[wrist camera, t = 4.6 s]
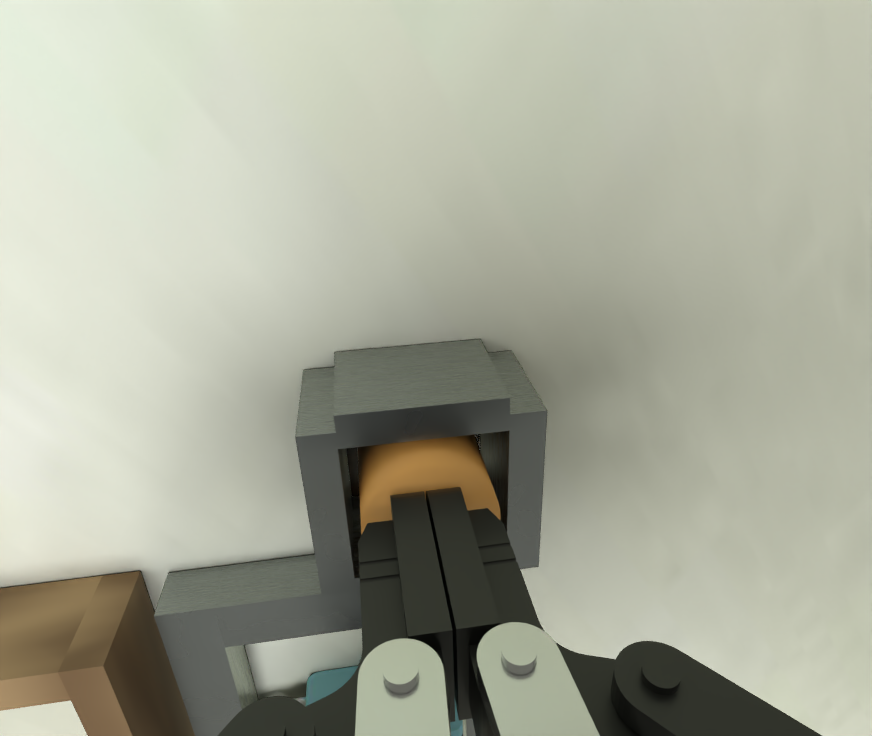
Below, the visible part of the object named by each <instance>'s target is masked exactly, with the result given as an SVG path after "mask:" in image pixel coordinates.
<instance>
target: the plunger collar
mask: <svg viewBox="0 0 872 736" xmlns="http://www.w3.org/2000/svg"><path fill="white" fill-rule="evenodd" d="M546 423H547V409H546V408H545V406H544V404H543V403H542V401H541V399H540V398H539V396H538V394H537V393H536V391H535V389H534V388H533V386H532V384H531V383H530V381H529V379H528V378H527V376H526V374H525V372H524V371H523V369H522V367H521V366H520V364H519V362H518V361H517V359H516V357H515V356H514V354H513V352H512V351H502V352H491V353H487V351H486V349H485V347H484V345H483V343H482V341H481V339H475V340H464V341H452V342H441V343H430V344H419V345H408V346H397V347H386V348H375V349H364V350H353V351H342V352H335V353H334V367H330V368H319V369H309V370H303V376H302V385H301V393H300V402H299V410H298V419H297V427H296V436H295V438H296V444H297V450H298V456H299V462H300V468H301V474H302V480H303V486H304V492H305V498H306V504H307V510H308V516H309V522H310V528H311V534H312V540H313V546H314V552H315V558H316V564H317V570H318V577H319V583H320V589H321V595H322V596H323V595H330V594H338V593H345V592H353V591H356V594H357V601H358V603H361V597H360V574H359V552H358V541H359V539H360V537H361V535H362V534H361V517H360V496H354V497H352V491H351V483H350V475H349V467H348V459H347V450H346V448H354V447H363V446H372V445H382V444H391V443H400V442H409V441H419V440H428V439H437V438H446V437H456V436H465V435H474V434H481V455H482V458H483V461H484V463H485V466H486V469H487V472H488V475H489V477H490V480H491V483H492V486H493V488H494V491H495V494H496V497H497V499H498V502H499V506H500V515H501V517H500V521H501V522H502V523H503V524H504V526H505V529H506V532H507V535H508V538H509V540H510V545H511V546H512V549H513V551H514V554H515V557H516V562H518V565H519V568H520V569H525V568H532V567H539V549H540V531H541V513H542V495H543V477H544V459H545V441H546Z"/></svg>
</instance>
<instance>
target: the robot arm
mask: <svg viewBox="0 0 872 736" xmlns="http://www.w3.org/2000/svg"><path fill="white" fill-rule="evenodd" d="M390 501H391V513H392V520H389V521H381V522H373V523H367V525H366V527H365V529H364V531H363V533H362V535H361V537H360V539H359V541H358V552H359V574H360V597H361V620H362V642H363V650H362V657H361V660H360V663H359V665H358V668H357V669H356V671H355V673H354V674H353V675H352V677H351V678H350V679H349V680H348V681H347V682H346V683H345V684H344V685H343V686H342V687H341V688H339V689H338V690H337V691H335V692H333V693H332V694H330V695H328V696H326V697H324V698H322V699H320V700H318V701H316V702H314V703H312V704H309V705H307V706H304V705H303V704H302V703H300V702H299V701H297V700H295V699H293V698H289V697H284V696H274V697H267V698H264V699H260V700H258V701H256V702H253V703H252V704H250V705H248V706H246V707H245V708H244V709H242V710H241V711H240V712H239V713H238V714H237V715H236V716H235V717H234V718H233V719H232V720H231V721H230V722H229V723H228V724H227V725H226V727H225V728H224V729H223V730H222V731H221V732H220V733H219V735H218V736H451V726H450V722H454V721H455V702H456V707H457V713H458V718H459V720H465V719H471V718H472V719H473V724H474V729H475V734H476V736H822V735H820V734H818V733H817V732H815V731H813V730H812V729H810V728H808V727H807V726H805V725H803V724H802V723H800V722H798V721H797V720H795V719H793V718H792V717H790V716H788V715H787V714H785V713H783V712H782V711H780V710H778V709H776V708H775V707H773V706H771V705H770V704H768V703H766V702H765V701H763V700H761V699H760V698H758V697H756V696H755V695H753V694H751V693H750V692H748V691H746V690H745V689H743V688H741V687H740V686H738V685H736V684H735V683H733V682H731V681H730V680H728V679H726V678H725V677H723V676H721V675H720V674H718V673H716V672H715V671H713V670H711V669H710V668H708V667H706V666H705V665H703V664H701V663H699V662H698V661H696V660H694V659H693V658H691V657H689V656H688V655H686V654H684V653H683V652H681V651H679V650H678V649H676V648H674V647H672V646H669V645H666V644H663V643H659V642H653V641H641V642H636V643H633V644H631V645H629V646H627V647H625V648H624V649H623V650H622V651H621V652H620V653H619V655H618V656H617V658H616V660H615V659H609V658H602V657H596V656H589V655H584V654H579V653H576V652H573V651H570V650H568V649H566V648H564V647H562V646H561V645H559V644H557V643H556V642H555V641H554V640H553V639H552V638H551V637H550V636H549V635H548V634H547V633H546V632H545V631H544V630H543V628H542V627H541V625H540V623H539V620H538V618H537V615H536V612H535V609H534V607H533V604H532V601H531V598H530V596H529V593H528V590H527V587H526V585H525V582H524V579H523V576H522V574H521V571H520V568H519V565H518V562H516V557H515V554H514V551H513V549H512V546H511V545H510V540H509V538H508V535H507V532H506V529H505V526H504V524H503V523H502V522H501V521H500V520H499V519H498V518H497V517H496V516H495V515H494V514H493V513H492V512H491V511H490V510H489V509H488V508H484V509H476V510H467V507H466V504H465V500H464V497H463V493H462V490H461V488H460V487H454V488H445V489H437V490H429V491H426V498H425V493H424V491H421V492H413V493H405V494H396V495H390Z"/></svg>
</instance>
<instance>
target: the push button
mask: <svg viewBox="0 0 872 736" xmlns="http://www.w3.org/2000/svg"><path fill="white" fill-rule="evenodd" d="M357 668H358V666H353V667H346V668H340V669H333V670H327V671H321V672H316V673H314V674H312V675H311V676H310V677H309V678H308V681H307V689H306V697H301V698H295V700H297V701H299V702H300V703H302V704H303V705H304V706H307V705H309V704H312V703H314V702H316V701H318V700H320V699H322V698H324V697H326V696H328V695H330V694H332V693H333V692H335V691H337V690H338V689H339V688H341V687H342V686H343V685H344V684H345V683H346V682H347V681H348V680H349V679H350V678H351V677H352V675H353V674H354V673H355V671H356V669H357ZM450 726H451V736H463V720H459V718H458V713H457V707H456V702H455V721H454V722H450Z"/></svg>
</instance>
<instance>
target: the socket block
mask: <svg viewBox="0 0 872 736" xmlns="http://www.w3.org/2000/svg"><path fill="white" fill-rule="evenodd" d="M154 618H155V621H156V624H157V627H158V630H159V633H160V636H161V639H162V641H163V644H164V647H165V650H166V653H167V656H168V659H169V662H170V665H171V667H172V670H173V673H174V676H175V679H176V682H177V685H178V688H179V691H180V693H181V696H182V699H183V702H184V705H185V708H186V711H187V714H188V717H189V719H190V722H191V725H192V728H193V731H194V734H195V736H218V735H219V733H220V732H221V731H222V730H223V729H224V728H225V727H226V725H227V724H228V723H229V722H230V721H231V720H232V719H233V718H234V717H235V716H236V715H237V714H238V713H239V712H240V711H241V710H242V709H244V708H245V707H246V706H248V705H250V704H252V703H253V702H256V701H258V698H257V694H256V690H255V686H254V682H253V678H252V675H251V671H250V667H249V663H248V659H247V655H246V651H245V648H244V645H246V644H253V643H261V642H268V641H275V640H282V639H289V638H296V637H303V636H310V635H317V634H325V633H332V632H339V631H346V630H353V629H360V628H362V620H361V603H358V601H357V594H356V591H353V592H345V593H338V594H330V595H323V596H322V595H321V589H320V583H319V577H318V570H317V564H316V558H315V555H307V556H299V557H291V558H283V559H275V560H267V561H259V562H251V563H243V564H235V565H228V566H220V567H212V568H204V569H196V570H188V571H180V572H172V573H168V575H167V578H166V581H165V584H164V587H163V590H162V593H161V596H160V599H159V602H158V605H157V608H156V611H155V614H154ZM463 736H476V734H475V729H474V724H473V719H472V718H471V719H465V720H463Z"/></svg>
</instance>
